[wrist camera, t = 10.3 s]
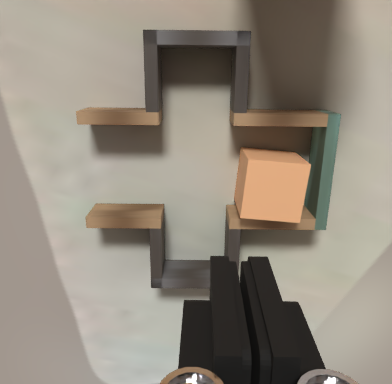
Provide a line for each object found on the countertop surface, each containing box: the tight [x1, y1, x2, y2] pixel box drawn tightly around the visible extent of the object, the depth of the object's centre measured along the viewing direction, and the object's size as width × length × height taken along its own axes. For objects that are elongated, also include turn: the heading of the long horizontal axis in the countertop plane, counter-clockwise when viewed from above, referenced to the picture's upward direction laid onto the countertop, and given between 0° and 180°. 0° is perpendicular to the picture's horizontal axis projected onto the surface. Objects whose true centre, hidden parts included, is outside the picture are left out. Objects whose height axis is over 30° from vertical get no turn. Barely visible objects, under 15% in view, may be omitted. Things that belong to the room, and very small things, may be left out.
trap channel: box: [76, 30, 341, 288], centre depth 32 cm, size 21×22×4 cm
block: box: [234, 147, 311, 223], centre depth 32 cm, size 5×5×5 cm
